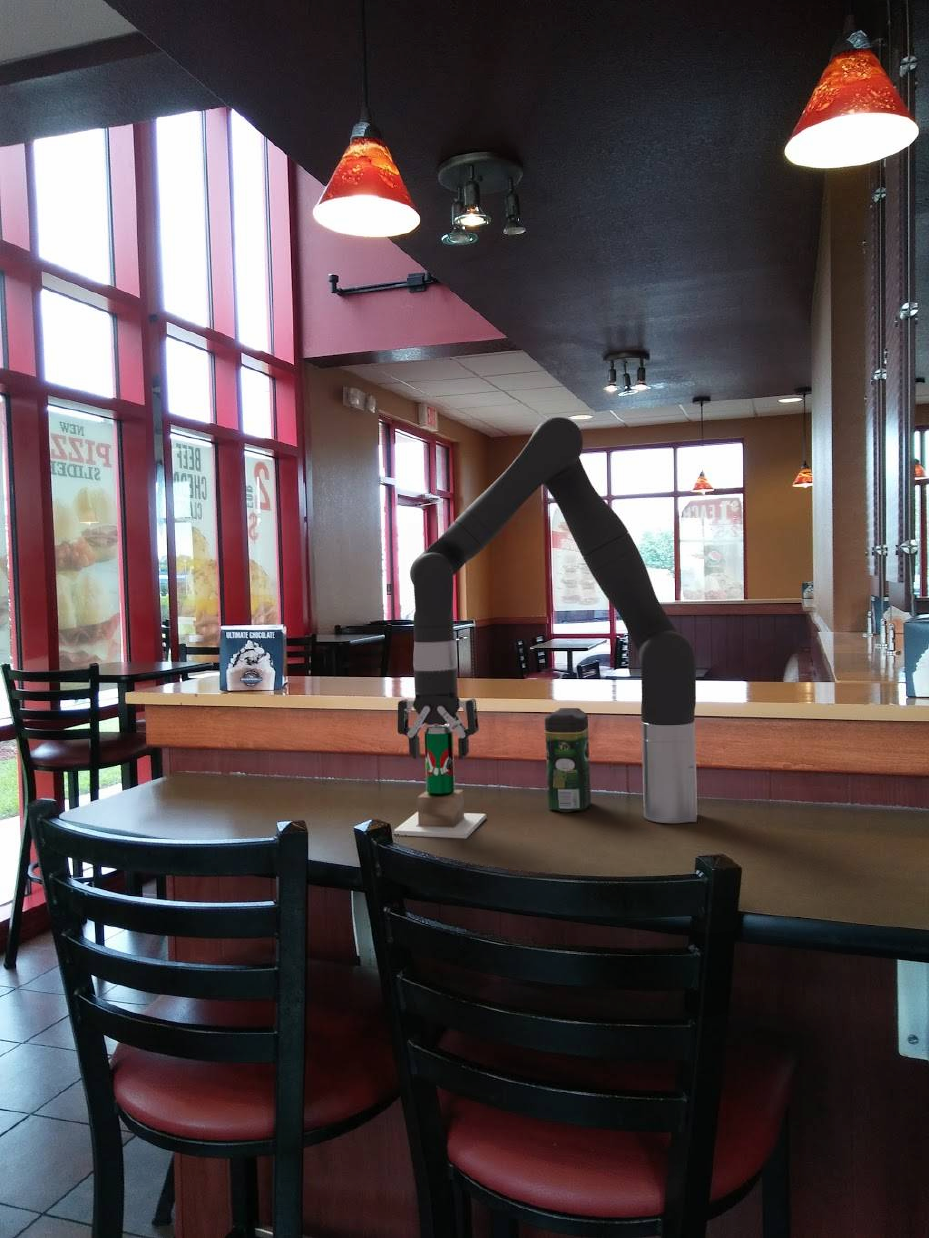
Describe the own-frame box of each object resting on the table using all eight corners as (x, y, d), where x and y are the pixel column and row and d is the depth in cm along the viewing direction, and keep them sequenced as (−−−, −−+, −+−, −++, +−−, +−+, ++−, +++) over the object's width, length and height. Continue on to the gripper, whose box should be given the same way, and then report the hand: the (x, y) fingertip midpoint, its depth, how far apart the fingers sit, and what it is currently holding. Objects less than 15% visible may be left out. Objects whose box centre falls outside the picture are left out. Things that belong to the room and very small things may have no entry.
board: (485, 818, 167) (485, 813, 167) (466, 838, 155) (466, 833, 155) (418, 815, 171) (417, 810, 171) (393, 834, 158) (393, 829, 158)
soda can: (456, 789, 165) (454, 723, 164) (453, 796, 160) (451, 728, 159) (428, 790, 165) (426, 723, 165) (424, 796, 160) (422, 728, 160)
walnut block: (464, 817, 165) (463, 789, 165) (453, 827, 159) (452, 798, 158) (430, 815, 167) (429, 788, 166) (418, 825, 160) (417, 797, 160)
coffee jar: (553, 799, 179) (550, 705, 179) (594, 801, 177) (591, 705, 176) (542, 812, 170) (539, 712, 169) (585, 814, 168) (582, 713, 167)
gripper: (479, 664, 163) (483, 754, 164) (404, 665, 167) (408, 753, 168) (468, 668, 156) (472, 763, 156) (389, 669, 160) (393, 762, 160)
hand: (439, 758), depth 162 cm, fingers open, 8 cm apart
